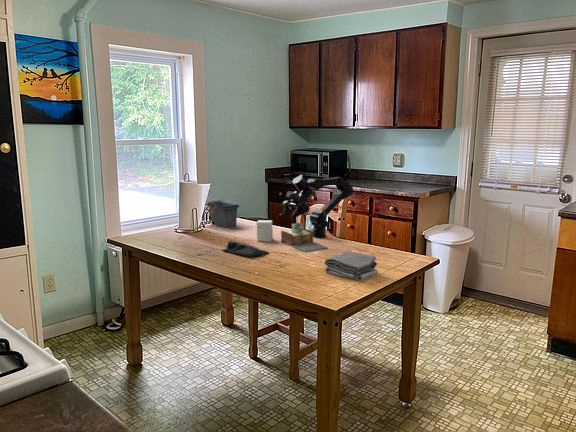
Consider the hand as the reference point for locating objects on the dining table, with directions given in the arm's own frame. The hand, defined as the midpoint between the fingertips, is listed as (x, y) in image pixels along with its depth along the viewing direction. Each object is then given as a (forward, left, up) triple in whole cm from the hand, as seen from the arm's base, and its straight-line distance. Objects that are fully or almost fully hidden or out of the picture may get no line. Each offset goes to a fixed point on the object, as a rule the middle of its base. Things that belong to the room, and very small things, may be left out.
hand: (286, 217), depth 243 cm
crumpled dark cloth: (+27, +5, -14) cm, 31 cm away
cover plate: (-5, +2, -9) cm, 10 cm away
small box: (+7, -12, -14) cm, 20 cm away
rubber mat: (-5, +15, -14) cm, 21 cm away
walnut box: (-5, +2, -14) cm, 15 cm away
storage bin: (+12, -60, -14) cm, 63 cm away
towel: (+2, +58, -14) cm, 60 cm away
